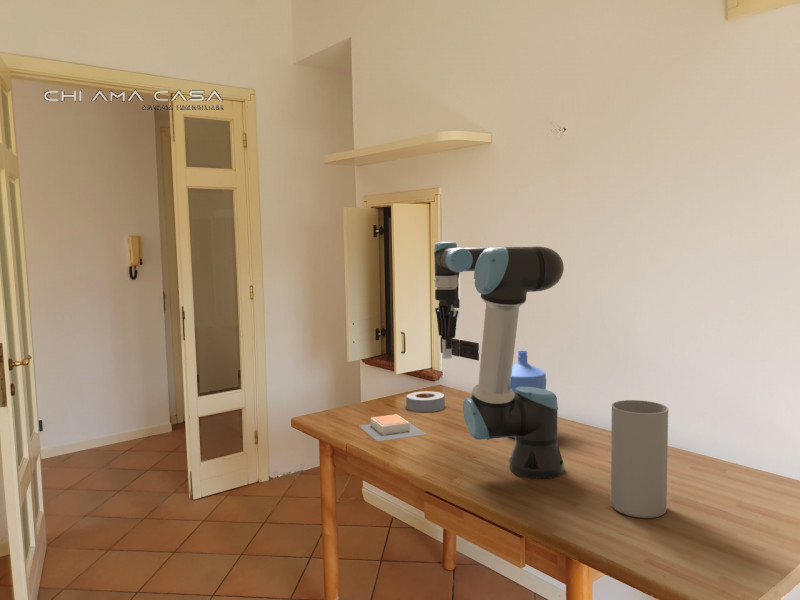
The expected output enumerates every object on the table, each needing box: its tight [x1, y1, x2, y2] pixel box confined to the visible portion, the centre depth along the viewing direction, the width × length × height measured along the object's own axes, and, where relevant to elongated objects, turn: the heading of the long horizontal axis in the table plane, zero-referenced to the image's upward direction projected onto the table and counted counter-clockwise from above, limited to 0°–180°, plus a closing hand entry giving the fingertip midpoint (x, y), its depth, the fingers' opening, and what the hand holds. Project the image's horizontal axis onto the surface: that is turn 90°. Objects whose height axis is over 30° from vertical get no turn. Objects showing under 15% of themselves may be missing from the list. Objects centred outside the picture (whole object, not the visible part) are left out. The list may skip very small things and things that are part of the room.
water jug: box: [510, 350, 547, 439], centre depth 208 cm, size 16×16×28 cm
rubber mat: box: [358, 422, 427, 442], centre depth 213 cm, size 20×18×1 cm
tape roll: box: [405, 390, 446, 413], centre depth 244 cm, size 15×15×5 cm
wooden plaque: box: [370, 413, 411, 435], centre depth 214 cm, size 3×10×12 cm
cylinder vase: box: [610, 399, 669, 519], centre depth 146 cm, size 12×12×25 cm
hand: (447, 358), depth 206 cm, fingers closed
